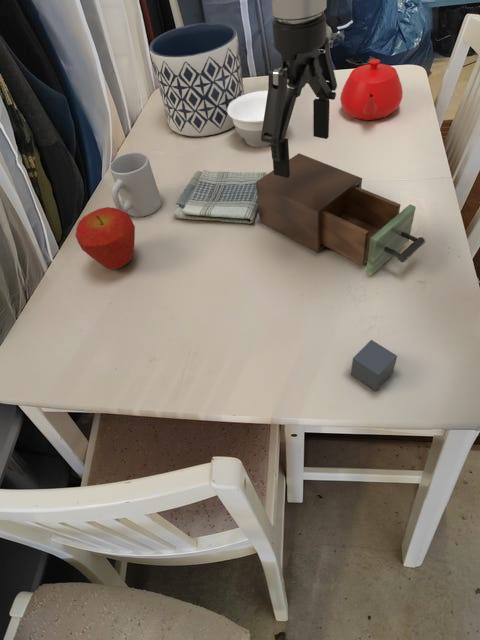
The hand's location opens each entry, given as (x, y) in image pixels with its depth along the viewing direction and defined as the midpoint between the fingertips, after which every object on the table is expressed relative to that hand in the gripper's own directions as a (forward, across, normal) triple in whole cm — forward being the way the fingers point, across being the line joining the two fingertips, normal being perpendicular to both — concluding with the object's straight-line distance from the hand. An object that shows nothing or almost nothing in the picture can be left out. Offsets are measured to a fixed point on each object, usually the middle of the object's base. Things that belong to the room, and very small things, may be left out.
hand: (302, 155), depth 78 cm
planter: (+16, -30, -49) cm, 60 cm away
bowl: (+16, -27, -28) cm, 42 cm away
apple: (+16, +26, -28) cm, 42 cm away
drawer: (+15, 0, +14) cm, 20 cm away
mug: (+16, +11, -37) cm, 41 cm away
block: (+16, +25, +26) cm, 40 cm away
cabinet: (+16, -2, 0) cm, 16 cm away
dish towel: (+16, -1, -21) cm, 27 cm away
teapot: (+16, -49, -8) cm, 52 cm away
